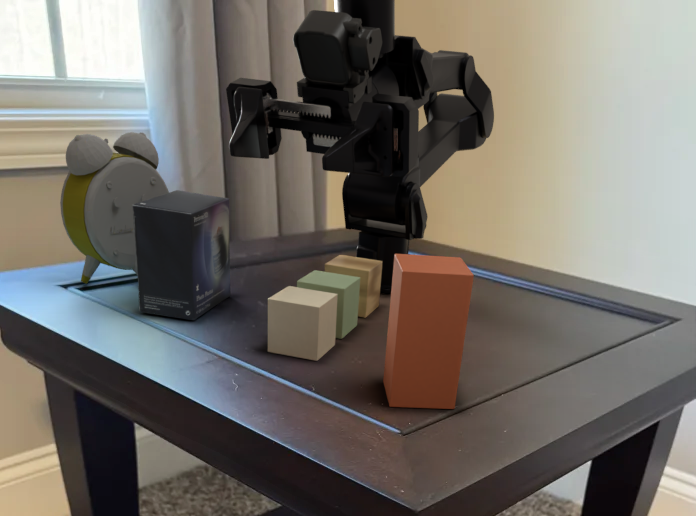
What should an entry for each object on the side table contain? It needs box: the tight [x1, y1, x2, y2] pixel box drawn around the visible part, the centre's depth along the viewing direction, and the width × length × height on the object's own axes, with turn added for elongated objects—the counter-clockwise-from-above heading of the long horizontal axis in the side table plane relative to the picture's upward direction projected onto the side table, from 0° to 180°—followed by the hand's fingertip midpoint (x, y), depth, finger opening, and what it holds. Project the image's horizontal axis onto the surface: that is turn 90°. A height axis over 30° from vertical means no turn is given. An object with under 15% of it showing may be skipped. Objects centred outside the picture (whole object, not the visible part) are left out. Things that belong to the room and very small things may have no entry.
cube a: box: [324, 254, 382, 318], centre depth 85 cm, size 5×5×5 cm
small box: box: [132, 189, 231, 321], centre depth 80 cm, size 11×6×10 cm, turn 168°
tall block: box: [382, 253, 475, 410], centre depth 63 cm, size 6×6×11 cm
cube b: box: [296, 269, 360, 340], centre depth 78 cm, size 5×5×5 cm
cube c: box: [267, 285, 338, 362], centre depth 72 cm, size 5×5×5 cm
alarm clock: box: [59, 131, 170, 285], centre depth 84 cm, size 12×7×15 cm, turn 144°
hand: (276, 156), depth 66 cm, fingers open, 9 cm apart
